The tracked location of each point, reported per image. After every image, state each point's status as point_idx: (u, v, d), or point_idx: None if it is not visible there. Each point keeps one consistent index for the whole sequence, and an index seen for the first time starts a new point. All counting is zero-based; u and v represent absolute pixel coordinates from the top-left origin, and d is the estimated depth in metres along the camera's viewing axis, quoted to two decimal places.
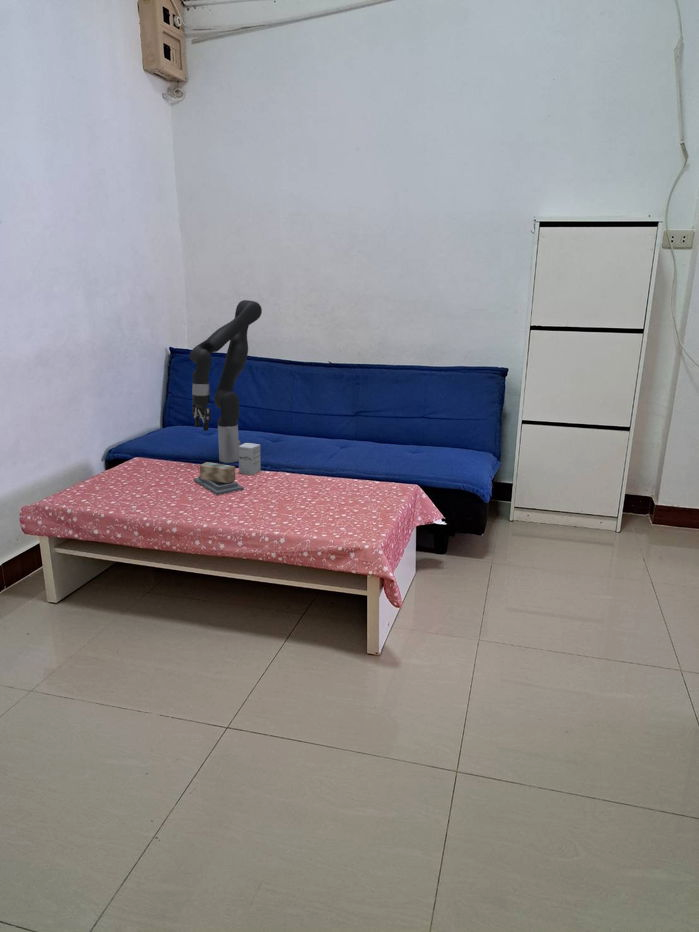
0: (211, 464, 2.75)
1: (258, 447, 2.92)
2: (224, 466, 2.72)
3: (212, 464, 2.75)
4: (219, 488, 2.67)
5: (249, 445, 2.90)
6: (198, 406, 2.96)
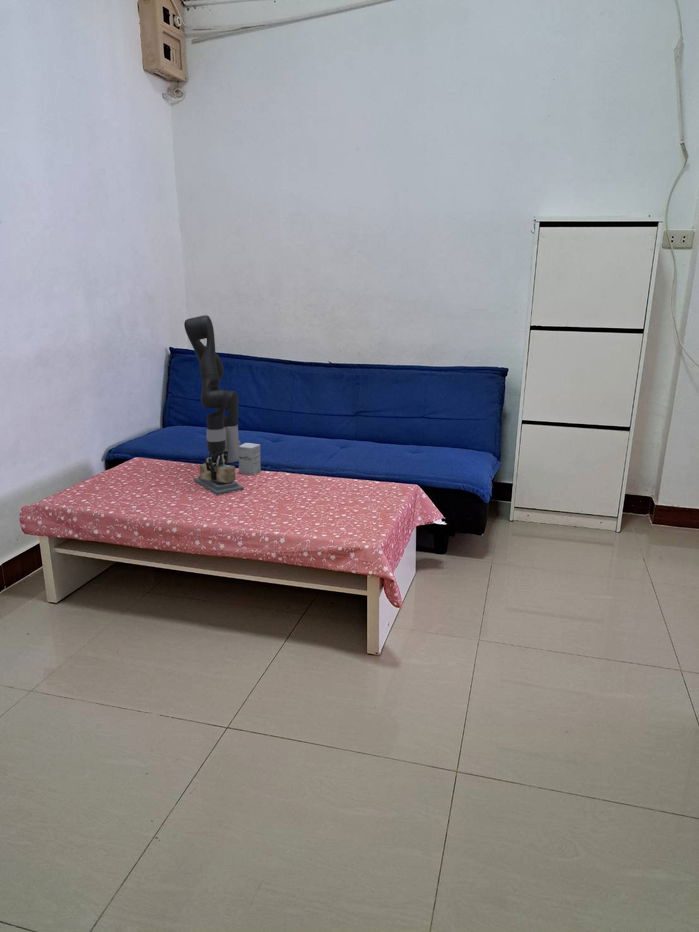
0: None
1: (258, 447, 2.92)
2: (224, 466, 2.72)
3: None
4: (219, 488, 2.67)
5: (249, 445, 2.90)
6: (218, 453, 2.71)
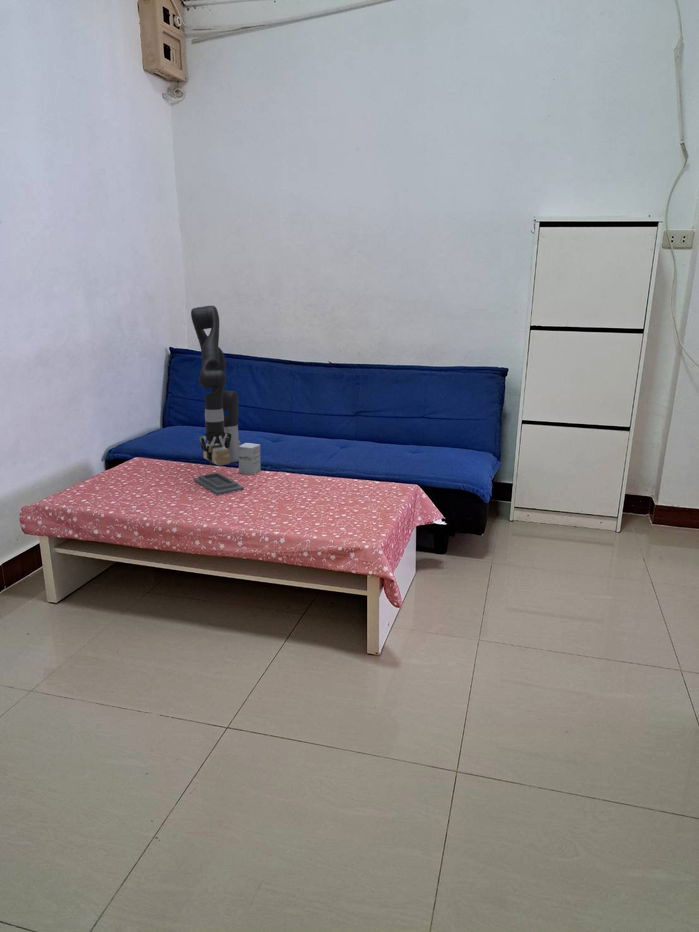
0: None
1: (258, 447, 2.92)
2: (219, 448, 2.69)
3: (213, 445, 2.73)
4: (219, 488, 2.67)
5: (249, 445, 2.90)
6: (215, 434, 2.69)
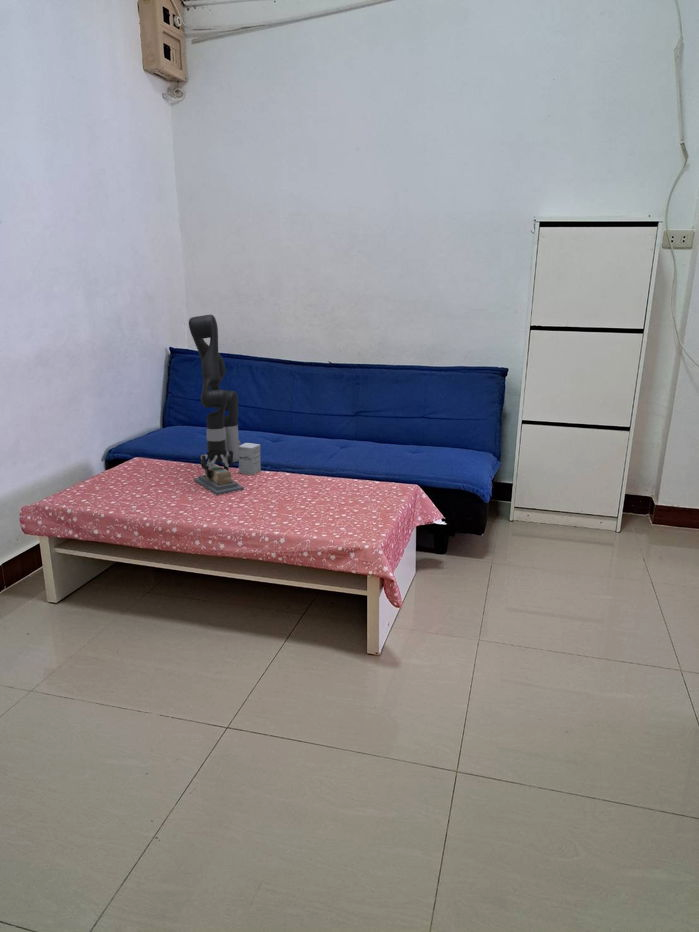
0: (214, 467, 2.76)
1: (258, 447, 2.92)
2: (221, 470, 2.71)
3: (215, 467, 2.76)
4: (219, 488, 2.67)
5: (249, 445, 2.90)
6: (216, 452, 2.71)
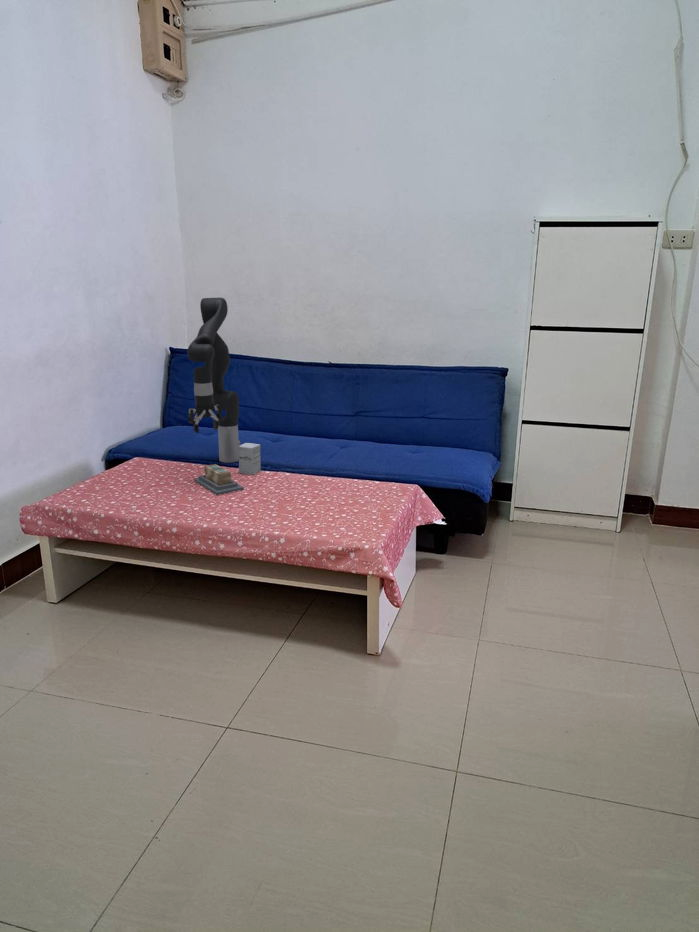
0: (214, 467, 2.76)
1: (258, 447, 2.92)
2: (221, 470, 2.71)
3: (215, 467, 2.76)
4: (219, 488, 2.67)
5: (249, 445, 2.90)
6: (204, 407, 2.71)
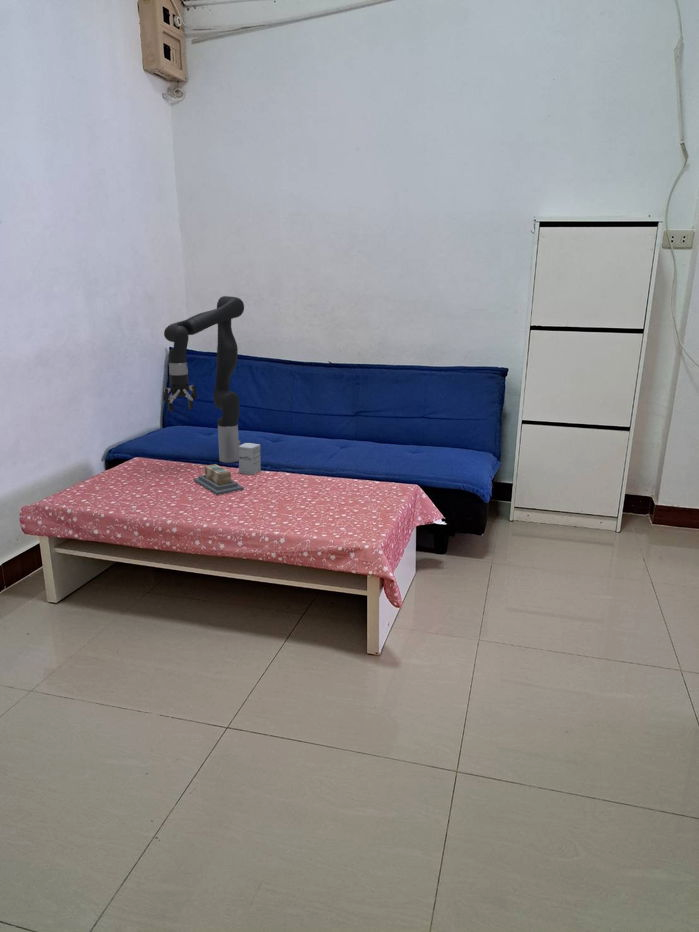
0: (214, 467, 2.76)
1: (258, 447, 2.92)
2: (221, 470, 2.71)
3: (215, 467, 2.76)
4: (219, 488, 2.67)
5: (249, 445, 2.90)
6: (179, 387, 2.81)
